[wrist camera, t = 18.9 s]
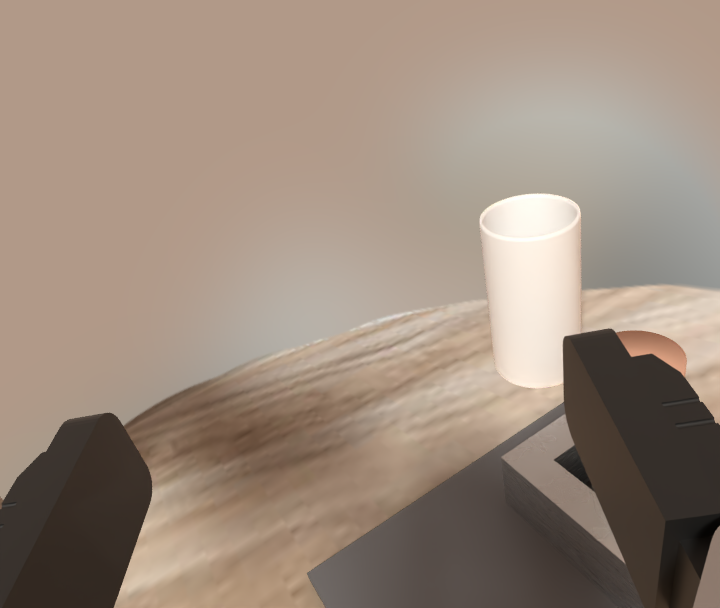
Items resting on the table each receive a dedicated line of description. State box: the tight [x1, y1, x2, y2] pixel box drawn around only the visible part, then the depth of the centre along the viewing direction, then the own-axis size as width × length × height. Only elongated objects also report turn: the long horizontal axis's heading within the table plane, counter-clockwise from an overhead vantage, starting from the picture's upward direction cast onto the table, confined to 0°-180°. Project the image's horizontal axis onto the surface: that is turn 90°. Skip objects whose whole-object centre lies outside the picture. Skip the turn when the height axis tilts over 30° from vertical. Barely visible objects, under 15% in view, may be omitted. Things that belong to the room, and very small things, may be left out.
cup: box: [480, 194, 581, 388], centre depth 53 cm, size 8×8×16 cm
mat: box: [307, 402, 619, 608], centre depth 41 cm, size 17×28×1 cm, turn 121°
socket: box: [501, 414, 644, 608], centre depth 40 cm, size 12×12×5 cm
